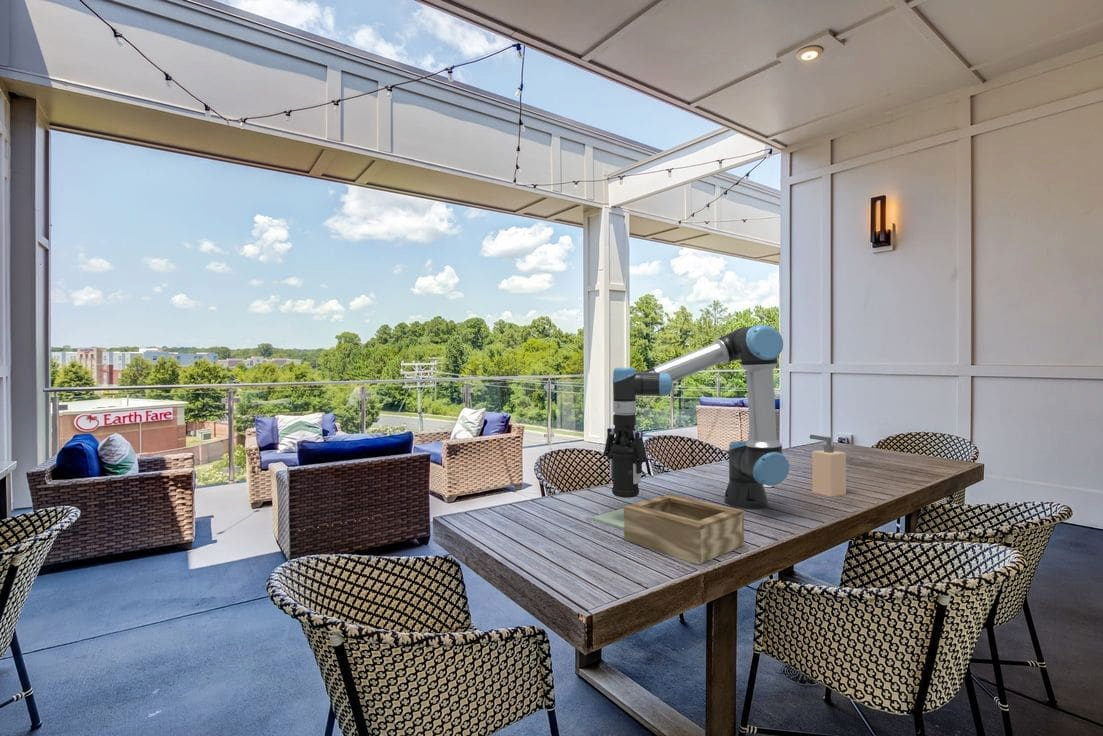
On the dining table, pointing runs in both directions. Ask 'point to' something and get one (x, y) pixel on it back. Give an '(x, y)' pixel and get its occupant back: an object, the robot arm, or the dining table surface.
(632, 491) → the black shaker bottle
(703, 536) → the crate
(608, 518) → the board
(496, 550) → the dining table surface
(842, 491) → the soap dispenser
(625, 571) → the dining table surface
